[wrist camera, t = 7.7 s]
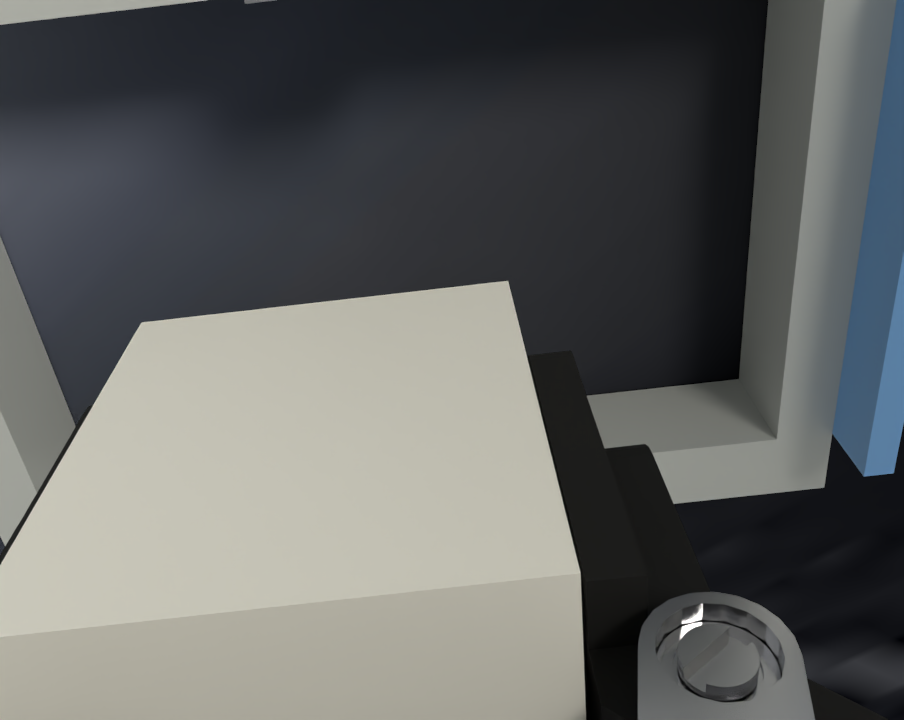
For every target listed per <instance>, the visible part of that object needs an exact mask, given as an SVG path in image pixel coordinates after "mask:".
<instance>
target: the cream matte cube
mask: <svg viewBox="0 0 904 720" xmlns="http://www.w3.org/2000/svg"><path fill="white" fill-rule="evenodd" d="M0 720H586V701H585V675H584V649H583V622H582V596H581V573H580V569H579V565H578V561H577V557H576V553H575V549H574V545H573V540H572V536H571V532H570V528H569V524H568V520H567V516H566V512H565V508H564V504H563V500H562V496H561V492H560V488H559V484H558V480H557V476H556V472H555V468H554V464H553V460H552V456H551V452H550V448H549V444H548V440H547V436H546V432H545V428H544V424H543V420H542V416H541V412H540V408H539V404H538V400H537V396H536V391H535V387H534V383H533V379H532V375H531V371H530V367H529V363H528V359H527V355H526V351H525V347H524V343H523V339H522V335H521V331H520V327H519V323H518V319H517V315H516V311H515V307H514V303H513V299H512V295H511V291H510V287H509V283H508V281H502V282H493V283H485V284H476V285H467V286H458V287H450V288H441V289H432V290H423V291H414V292H406V293H397V294H388V295H379V296H370V297H362V298H353V299H344V300H335V301H327V302H318V303H309V304H300V305H291V306H283V307H274V308H265V309H256V310H247V311H239V312H230V313H221V314H212V315H204V316H195V317H186V318H177V319H168V320H160V321H151V322H142V323H141V324H140V326H139V328H138V329H137V331H136V333H135V334H134V336H133V338H132V340H131V341H130V343H129V345H128V346H127V348H126V350H125V352H124V353H123V355H122V357H121V358H120V360H119V362H118V364H117V365H116V367H115V369H114V370H113V372H112V374H111V376H110V377H109V379H108V381H107V383H106V384H105V386H104V388H103V389H102V391H101V393H100V395H99V396H98V398H97V400H96V401H95V403H94V405H93V407H92V408H91V410H90V412H89V413H88V415H87V417H86V419H85V420H84V422H83V424H82V425H81V427H80V429H79V431H78V432H77V434H76V436H75V437H74V439H73V441H72V443H71V444H70V446H69V448H68V449H67V451H66V453H65V455H64V456H63V458H62V460H61V462H60V463H59V465H58V467H57V468H56V470H55V472H54V474H53V475H52V477H51V479H50V480H49V482H48V484H47V486H46V487H45V489H44V491H43V492H42V494H41V496H40V498H39V499H38V501H37V503H36V504H35V506H34V508H33V510H32V511H31V513H30V515H29V516H28V518H27V520H26V522H25V523H24V525H23V527H22V528H21V530H20V532H19V534H18V535H17V537H16V539H15V541H14V542H13V544H12V546H11V547H10V549H9V551H8V553H7V554H6V556H5V558H4V559H3V561H2V563H1V565H0Z"/></svg>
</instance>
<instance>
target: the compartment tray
mask: <svg viewBox="0 0 904 720" xmlns="http://www.w3.org/2000/svg"><path fill="white" fill-rule="evenodd" d="M198 1H206V0H0V25H3V24H11V23H20V22H28V21H37V20H45V19H54V18H62V17H71V16H79V15H88V14H96V13H105V12H113V11H122V10H130V9H139V8H147V7H155V6H164V5H172V4H181V3H189V2H198ZM244 1H245V4H249V3H258V2H266V1H275V0H244ZM587 398H588V401H589V404H590V407H591V410H592V413H593V416H594V419H595V422H596V425H597V427H598V430H599V433H600V436H601V439H602V442H603V445H604V448H613V447H622V446H631V445H640V444H646V445H647V446H649V448H650V450H651V452H652V454H653V456H654V458H655V461H656V463H657V465H658V468H659V470H660V473H661V475H662V477H663V480H664V482H665V484H666V487H667V489H668V492H669V494H670V496H671V499H672V501H673V504H677V503H686V502H695V501H705V500H714V499H723V498H732V497H742V496H751V495H760V494H770V493H779V492H788V491H797V490H807V489H816V488H824V486H825V479H826V472H827V465H828V459H829V452H830V445H831V439H832V434H833V435H834V437H835V438H836V439H837V441H838V442H839V443H840V445H841V446H842V447H843V449H844V450H845V452H846V453H847V454H848V456H849V457H850V458H851V460H852V461H853V463H854V464H855V465H856V467H857V468H858V469H859V471H860V472H861V473H862V475H863V476H874V475H883V474H892V473H894V469H895V464H896V459H897V454H898V449H899V444H900V439H901V434H902V429H903V424H904V0H768V10H767V23H766V36H765V49H764V62H763V75H762V87H761V100H760V113H759V126H758V139H757V152H756V164H755V177H754V190H753V203H752V216H751V229H750V242H749V254H748V267H747V280H746V293H745V306H744V319H743V331H742V344H741V357H740V370H739V379H735V380H726V381H717V382H707V383H698V384H689V385H680V386H671V387H662V388H653V389H644V390H635V391H626V392H616V393H607V394H598V395H589V396H587ZM75 427H76V426H75V423H74V421H73V418H72V416H71V413H70V411H69V408H68V406H67V403H66V401H65V398H64V396H63V393H62V391H61V388H60V386H59V383H58V381H57V378H56V376H55V373H54V370H53V368H52V365H51V363H50V360H49V358H48V355H47V353H46V350H45V348H44V345H43V343H42V340H41V338H40V335H39V333H38V330H37V328H36V325H35V323H34V320H33V318H32V315H31V313H30V310H29V308H28V305H27V302H26V300H25V297H24V295H23V292H22V290H21V287H20V285H19V282H18V280H17V277H16V275H15V272H14V270H13V267H12V265H11V262H10V260H9V257H8V255H7V252H6V250H5V247H4V245H3V242H2V240H1V237H0V537H1V539H2V541H3V543H4V545H5V546H6V544H7V543H8V541H9V539H10V538H11V536H12V534H13V532H14V531H15V529H16V527H17V526H18V524H19V523H20V521H21V520H22V518H23V516H24V514H25V513H26V511H27V509H28V508H29V506H30V504H31V502H32V501H33V499H34V497H35V496H36V494H37V492H38V490H39V489H40V487H41V485H42V484H43V482H44V480H45V478H46V477H47V475H48V473H49V472H50V470H51V468H52V467H53V465H54V463H55V461H56V460H57V458H58V456H59V455H60V453H61V451H62V449H63V448H64V446H65V444H66V443H67V441H68V439H69V437H70V436H71V434H72V432H73V431H74V429H75Z"/></svg>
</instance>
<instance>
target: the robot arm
mask: <svg viewBox="0 0 904 720" xmlns="http://www.w3.org/2000/svg"><path fill="white" fill-rule="evenodd" d="M528 363H529V367H530V371H531V375H532V379H533V383H534V387H535V391H536V396H537V400H538V404H539V408H540V412H541V416H542V420H543V424H544V428H545V432H546V436H547V440H548V444H549V448H550V452H551V456H552V460H553V464H554V468H555V472H556V476H557V480H558V484H559V488H560V492H561V496H562V500H563V504H564V508H565V512H566V516H567V520H568V524H569V528H570V532H571V536H572V540H573V545H574V549H575V553H576V557H577V561H578V565H579V569H580V573H581V596H582V622H583V649H584V675H585V701H586V720H888V719H887V718H885V717H883V716H881V715H879V714H877V713H875V712H873V711H871V710H869V709H867V708H865V707H863V706H861V705H859V704H857V703H855V702H853V701H851V700H849V699H847V698H845V697H843V696H841V695H839V694H837V693H835V692H833V691H831V690H829V689H827V688H825V687H823V686H821V685H819V684H817V683H815V682H813V681H811V680H809V679H807V676H806V671H805V666H804V661H803V656H802V653H801V651H800V648H799V646H798V643H797V641H796V638H795V636H794V635H793V634H792V633H791V631H790V630H789V629H788V628H787V627H786V626H785V624H784V623H783V622H782V621H781V620H780V619H779V618H778V617H776V616H775V615H774V614H772V613H771V612H769V611H768V610H766V609H765V608H764V607H762V606H761V605H759V604H756V603H754V602H751V601H749V600H746V599H744V598H741V597H739V596H735V595H729V594H724V593H718V592H710V589H709V587H708V585H707V582H706V580H705V577H704V575H703V573H702V570H701V568H700V565H699V563H698V561H697V558H696V556H695V554H694V551H693V549H692V546H691V544H690V542H689V539H688V537H687V534H686V532H685V530H684V527H683V525H682V523H681V520H680V518H679V515H678V513H677V511H676V508H675V506H674V504H673V501H672V499H671V496H670V494H669V492H668V489H667V487H666V484H665V482H664V480H663V477H662V475H661V473H660V470H659V468H658V465H657V463H656V461H655V458H654V456H653V454H652V452H651V450H650V448H649V446H647V445H646V444H640V445H631V446H622V447H613V448H604V445H603V442H602V439H601V436H600V433H599V430H598V427H597V425H596V422H595V419H594V416H593V413H592V410H591V407H590V404H589V401H588V398H587V395H586V392H585V389H584V386H583V384H582V381H581V378H580V375H579V372H578V369H577V366H576V363H575V360H574V357H573V354H572V352H571V351H563V352H554V353H545V354H537V355H528ZM92 407H93V405H92V406H89V407H88V408H87V409H86V410H85V412H84V413H83V415H82V417H81V419H80V420H79V422H78V424H77V425H76V427H75V429H74V431H73V432H72V434H71V436H70V437H69V439H68V441H67V443H66V444H65V446H64V448H63V449H62V451H61V453H60V455H59V456H58V458H57V460H56V461H55V463H54V465H53V467H52V468H51V470H50V472H49V473H48V475H47V477H46V478H45V480H44V482H43V484H42V485H41V487H40V489H39V490H38V492H37V494H36V496H35V497H34V499H33V501H32V502H31V504H30V506H29V508H28V509H27V511H26V513H25V514H24V516H23V518H22V520H21V521H20V523H19V524H18V526H17V527H16V529H15V531H14V532H13V534H12V536H11V538H10V539H9V541H8V543H7V544H6V546H5V548H4V550H3V551H2V553H1V555H0V565H1V563H2V561H3V559H4V558H5V556H6V554H7V553H8V551H9V549H10V547H11V546H12V544H13V542H14V541H15V539H16V537H17V535H18V534H19V532H20V530H21V528H22V527H23V525H24V523H25V522H26V520H27V518H28V516H29V515H30V513H31V511H32V510H33V508H34V506H35V504H36V503H37V501H38V499H39V498H40V496H41V494H42V492H43V491H44V489H45V487H46V486H47V484H48V482H49V480H50V479H51V477H52V475H53V474H54V472H55V470H56V468H57V467H58V465H59V463H60V462H61V460H62V458H63V456H64V455H65V453H66V451H67V449H68V448H69V446H70V444H71V443H72V441H73V439H74V437H75V436H76V434H77V432H78V431H79V429H80V427H81V425H82V424H83V422H84V420H85V419H86V417H87V415H88V413H89V412H90V410H91V408H92Z"/></svg>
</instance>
